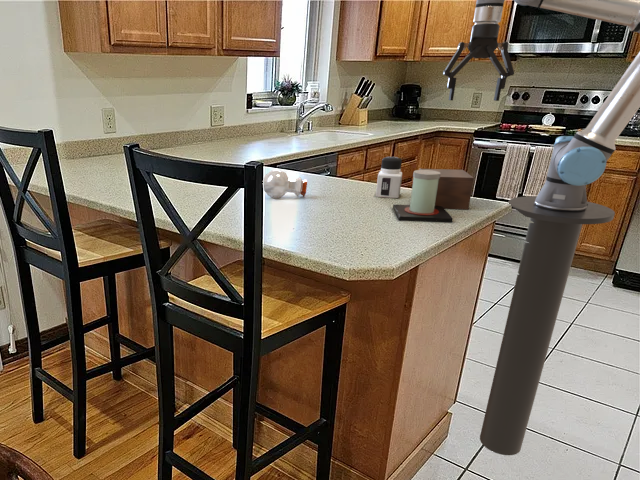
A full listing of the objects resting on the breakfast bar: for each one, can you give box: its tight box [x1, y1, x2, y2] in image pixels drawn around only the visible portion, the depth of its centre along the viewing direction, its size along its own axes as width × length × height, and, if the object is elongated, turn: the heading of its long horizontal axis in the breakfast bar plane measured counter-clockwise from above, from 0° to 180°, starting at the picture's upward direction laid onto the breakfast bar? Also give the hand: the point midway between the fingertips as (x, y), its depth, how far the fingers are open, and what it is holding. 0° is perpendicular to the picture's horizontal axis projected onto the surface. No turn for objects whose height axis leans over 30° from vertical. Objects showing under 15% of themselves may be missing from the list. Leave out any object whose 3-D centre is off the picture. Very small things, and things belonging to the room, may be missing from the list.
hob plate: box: [392, 204, 453, 223], centre depth 159 cm, size 15×15×1 cm
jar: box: [409, 169, 441, 213], centre depth 157 cm, size 8×8×12 cm
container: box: [375, 156, 403, 199], centre depth 181 cm, size 8×8×13 cm
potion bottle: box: [263, 169, 308, 199], centre depth 180 cm, size 9×10×15 cm
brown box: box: [419, 168, 475, 210], centre depth 171 cm, size 14×14×10 cm
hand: (473, 100), depth 164 cm, fingers open, 13 cm apart
